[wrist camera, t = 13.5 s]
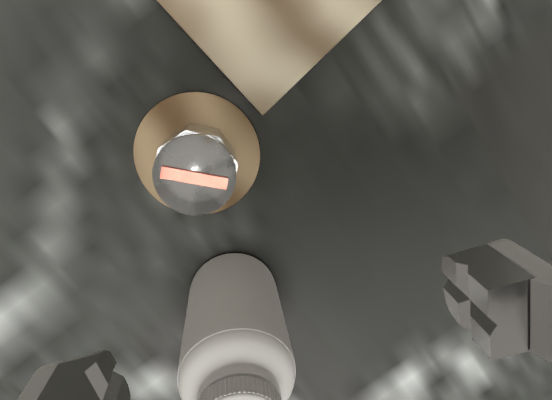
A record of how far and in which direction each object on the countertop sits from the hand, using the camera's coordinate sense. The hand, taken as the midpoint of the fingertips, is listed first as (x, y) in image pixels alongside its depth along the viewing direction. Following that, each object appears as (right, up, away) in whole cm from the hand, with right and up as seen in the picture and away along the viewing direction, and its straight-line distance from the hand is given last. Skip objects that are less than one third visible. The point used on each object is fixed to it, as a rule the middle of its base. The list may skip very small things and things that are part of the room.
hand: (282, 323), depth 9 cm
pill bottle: (-4, -5, +26) cm, 27 cm away
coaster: (-7, +7, +22) cm, 24 cm away
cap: (-6, +6, +21) cm, 23 cm away
